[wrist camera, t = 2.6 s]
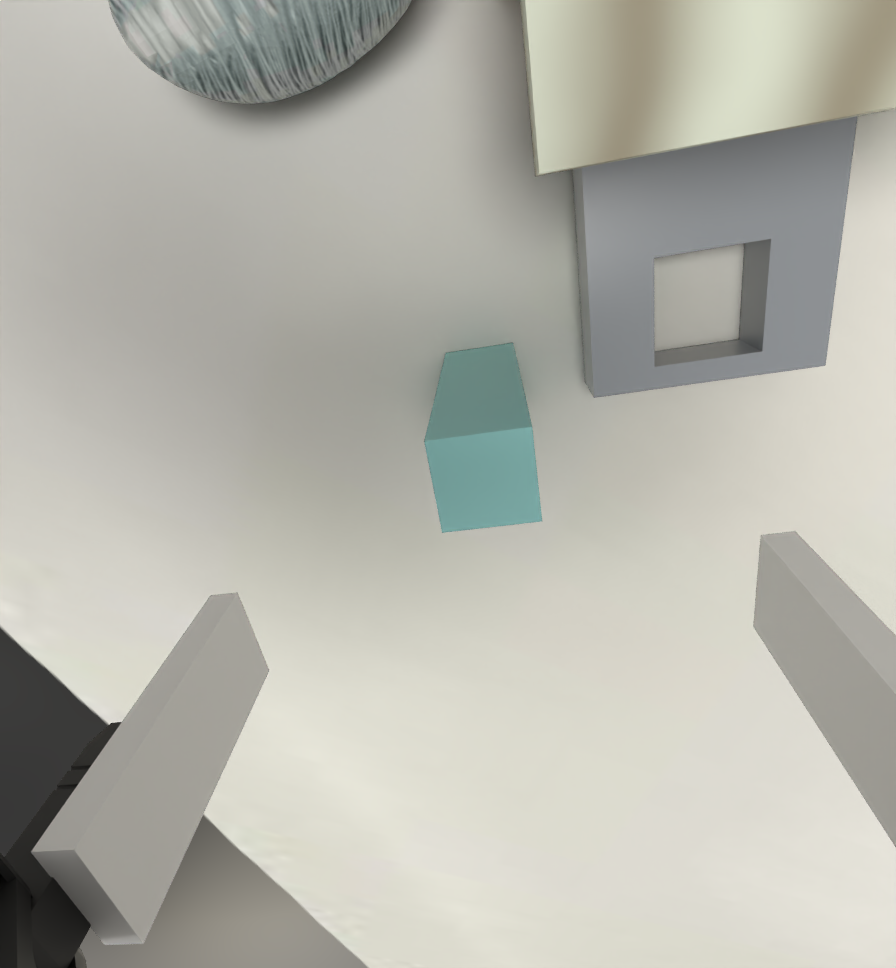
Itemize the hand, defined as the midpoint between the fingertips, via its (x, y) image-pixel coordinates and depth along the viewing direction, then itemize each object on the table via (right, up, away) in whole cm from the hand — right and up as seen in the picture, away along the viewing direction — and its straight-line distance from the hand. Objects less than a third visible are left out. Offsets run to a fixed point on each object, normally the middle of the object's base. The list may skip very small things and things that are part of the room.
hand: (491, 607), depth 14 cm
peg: (+1, +9, +20) cm, 22 cm away
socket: (+12, +16, +16) cm, 26 cm away
